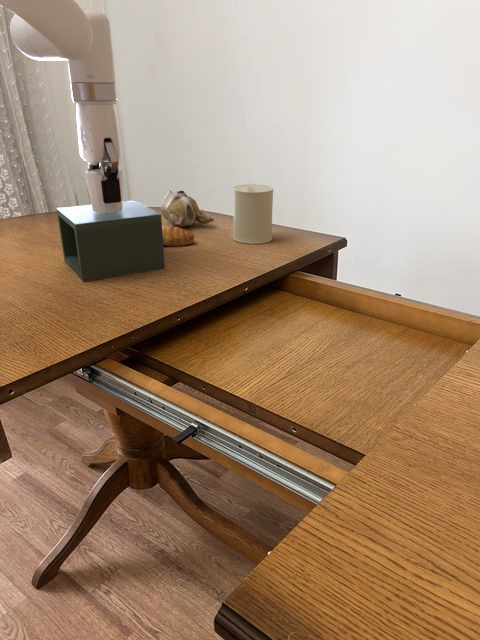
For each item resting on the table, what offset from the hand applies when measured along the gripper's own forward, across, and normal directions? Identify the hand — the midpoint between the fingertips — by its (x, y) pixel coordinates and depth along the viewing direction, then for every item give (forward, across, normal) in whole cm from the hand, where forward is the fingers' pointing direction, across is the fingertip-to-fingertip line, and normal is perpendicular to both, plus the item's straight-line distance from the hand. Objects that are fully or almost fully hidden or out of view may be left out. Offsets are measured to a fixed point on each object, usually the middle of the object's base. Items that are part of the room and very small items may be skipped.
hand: (106, 197), depth 102 cm
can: (+13, -3, +34) cm, 37 cm away
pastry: (+13, -9, +16) cm, 23 cm away
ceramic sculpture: (+13, -22, +25) cm, 36 cm away
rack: (+13, 0, 0) cm, 13 cm away
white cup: (+2, 0, 0) cm, 2 cm away
